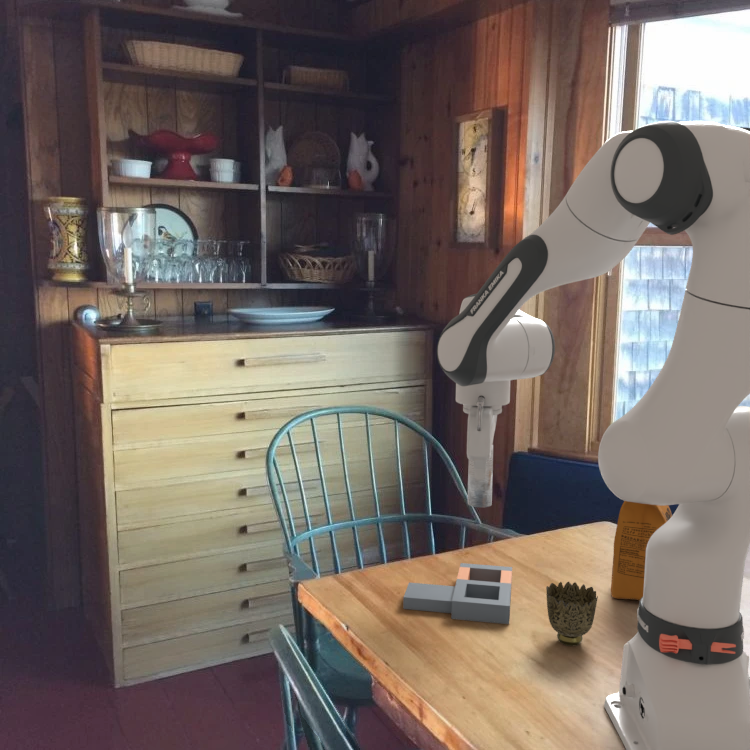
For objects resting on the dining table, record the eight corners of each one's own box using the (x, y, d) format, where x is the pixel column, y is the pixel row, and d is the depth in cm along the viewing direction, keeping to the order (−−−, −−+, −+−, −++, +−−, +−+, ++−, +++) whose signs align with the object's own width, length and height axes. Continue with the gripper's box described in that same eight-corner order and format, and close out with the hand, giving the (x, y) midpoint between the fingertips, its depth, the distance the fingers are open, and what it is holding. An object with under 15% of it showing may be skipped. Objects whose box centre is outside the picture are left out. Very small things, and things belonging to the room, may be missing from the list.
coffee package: (679, 586, 139) (688, 463, 136) (664, 612, 129) (672, 480, 126) (622, 574, 144) (628, 455, 141) (602, 598, 134) (609, 471, 131)
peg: (491, 508, 131) (492, 448, 129) (466, 506, 132) (468, 447, 130) (492, 500, 135) (493, 443, 133) (468, 499, 135) (469, 442, 134)
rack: (509, 624, 124) (509, 606, 124) (401, 614, 127) (401, 596, 127) (511, 583, 140) (512, 567, 139) (415, 575, 143) (415, 559, 143)
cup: (596, 656, 114) (599, 604, 113) (544, 651, 116) (546, 599, 115) (593, 633, 122) (596, 583, 120) (544, 628, 123) (546, 578, 122)
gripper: (500, 403, 120) (498, 492, 122) (503, 383, 140) (501, 460, 142) (458, 401, 121) (456, 490, 123) (467, 382, 141) (465, 458, 143)
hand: (480, 473), depth 132 cm, fingers closed on peg, 4 cm apart
